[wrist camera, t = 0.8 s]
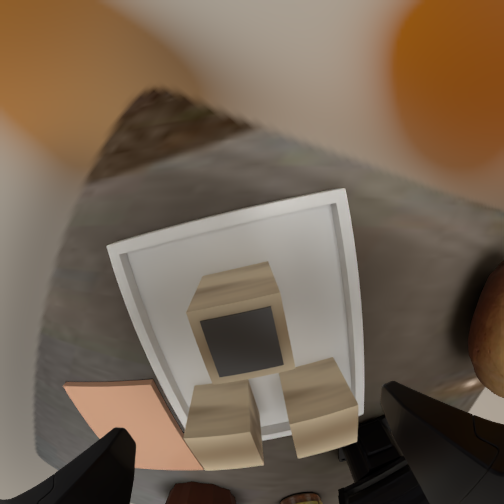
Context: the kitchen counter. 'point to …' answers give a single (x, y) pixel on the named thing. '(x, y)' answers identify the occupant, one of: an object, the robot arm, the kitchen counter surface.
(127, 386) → the terracotta tile
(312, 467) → the kitchen counter surface
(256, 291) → the labelled box
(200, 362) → the white shallow tray
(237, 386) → the plain box
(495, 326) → the butternut squash
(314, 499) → the sauce bottle
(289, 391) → the plain box
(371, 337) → the kitchen counter surface
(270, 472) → the kitchen counter surface
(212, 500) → the muffin
